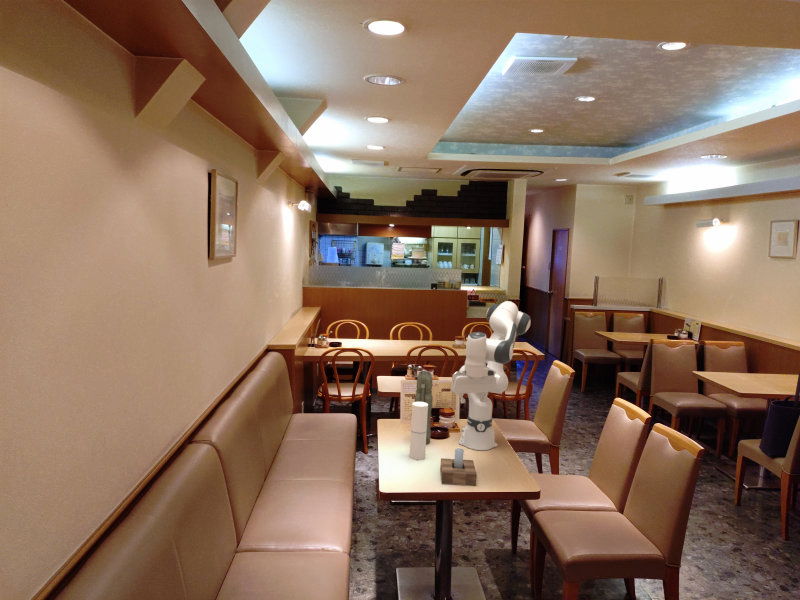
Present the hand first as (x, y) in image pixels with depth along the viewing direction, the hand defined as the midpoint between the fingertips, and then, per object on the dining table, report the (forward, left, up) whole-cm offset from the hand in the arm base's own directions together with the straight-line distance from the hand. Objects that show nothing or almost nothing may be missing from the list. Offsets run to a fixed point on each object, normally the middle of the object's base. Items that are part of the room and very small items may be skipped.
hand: (472, 402), depth 232 cm
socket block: (+6, -5, -31) cm, 32 cm away
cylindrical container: (-13, -22, -31) cm, 40 cm away
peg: (+6, -5, -31) cm, 32 cm away
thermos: (-32, -20, -31) cm, 49 cm away
